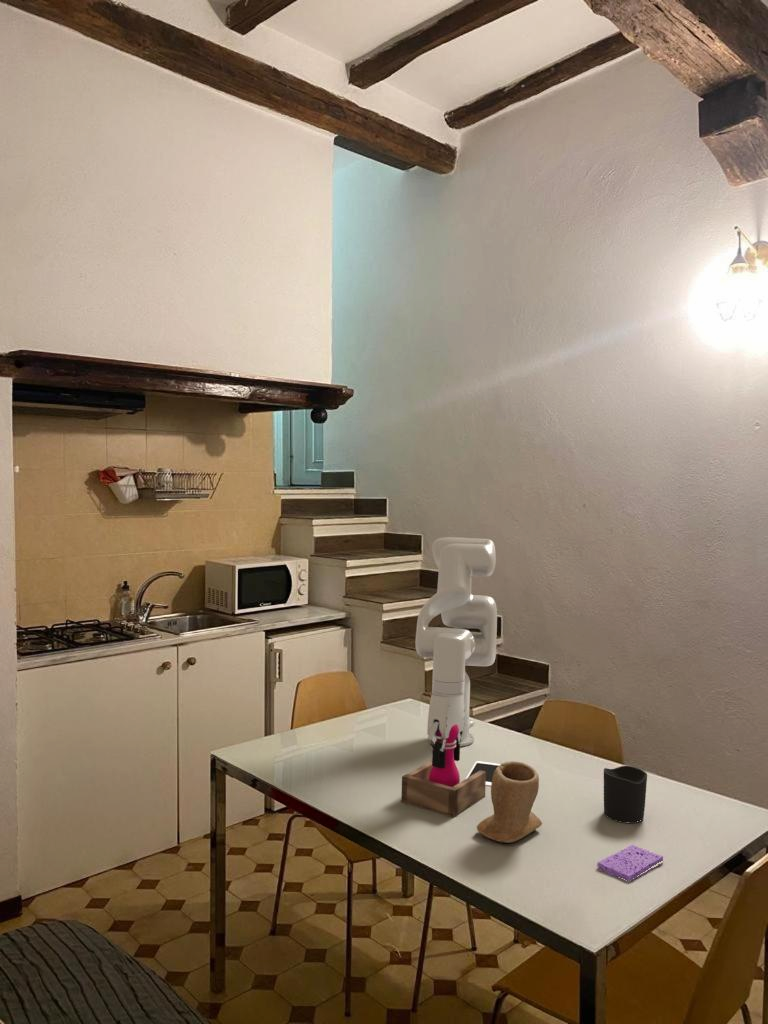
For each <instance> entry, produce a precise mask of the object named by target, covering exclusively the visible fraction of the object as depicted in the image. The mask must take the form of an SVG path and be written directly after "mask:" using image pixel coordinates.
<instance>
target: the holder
mask: <svg viewBox="0 0 768 1024" xmlns="http://www.w3.org/2000/svg"><path fill="white" fill-rule="evenodd" d="M431 768H432V760H431V761H428V762H426V763H425V764H423V765H421V766H418V767H417V768H415V769H413V770H412V771H409V772H408V773H406V774H404V775H402V776H401V800H400V801H401V803H403V804H407V805H410V806H413V807H418V808H421V809H425V810H428V811H431V812H434V813H438V814H441V815H444V816H447V817H452V818H455V817H457V816H459V815H460V814H462V813H463V812H464V811H466V810H468V809H469V808H470V807H472V806H473V805H475V804H477V803H478V802H480V801H481V800H482V799H484V798H485V797H486V786H485V784H486V772H485V771H481V770H480V771H478V772H477V773H475V774H473V775H472V776H470V777H468V778H467V779H466V778H465V779H463V780H462V781H460V782H459V783H458V784H457V785H455V786H453V787H450V786H446V785H442V784H439V783H435V782H431V781H429V774H430V771H431Z"/></svg>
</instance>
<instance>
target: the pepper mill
mask: <svg viewBox="0 0 768 1024" xmlns="http://www.w3.org/2000/svg"><path fill="white" fill-rule="evenodd" d="M458 734H459V727H458V725H457V724H455V725H454V726H453V727H452V728H451V730H450V733H449V738H447V739H446V743H445V747H444V751H446V756H445V768H444V769H442V768H438V767H434V766H432V768H431V771H430V774H429V781H431V782H435V783H439V784H442V785H446V786H450V787H453V786H455V785H457V784H458V783H460V782H461V779H460V777H461V776H460V772H459V769H458V767H457V764H456V761H455V760H454V748H455V747H456V740H455V739H456V737H457V736H458ZM437 736H440V737H441V736H442V733H440V730H439V731H438V733H437ZM437 741H439V743H440V745H441V740H440V739H438V740H437Z"/></svg>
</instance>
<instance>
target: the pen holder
mask: <svg viewBox="0 0 768 1024" xmlns="http://www.w3.org/2000/svg"><path fill="white" fill-rule="evenodd" d="M647 783H648V773H647V772H646V771H644V770H643V769H641V768H638V767H635V766H630V765H621V766H619V767H614V768H607V767H605V768H603V813H604V814H605V816H606V815H607V816H608V817H609V818H608V817H607V816H606V817H607V818H608V819H610V818H611V819H610V820H612V819H613V821H614V820H617V821H616V822H618V821H621V822H620V823H622V822H637V821H640V820H641V821H643V820H644V817H645V808H646V797H647V795H646V794H647ZM641 821H640V822H641ZM637 823H638V822H637Z"/></svg>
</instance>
